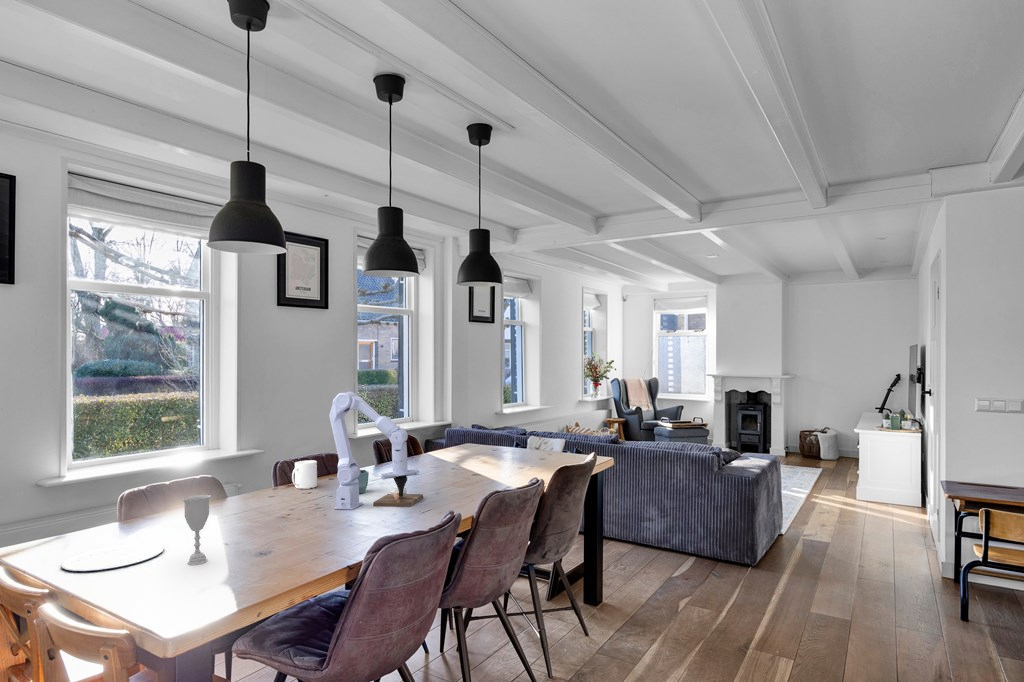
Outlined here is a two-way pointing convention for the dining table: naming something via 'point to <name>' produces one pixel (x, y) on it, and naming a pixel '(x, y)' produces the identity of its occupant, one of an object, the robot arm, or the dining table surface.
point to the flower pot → (363, 480)
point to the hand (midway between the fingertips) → (400, 496)
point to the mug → (305, 474)
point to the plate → (155, 552)
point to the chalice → (197, 522)
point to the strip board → (401, 502)
